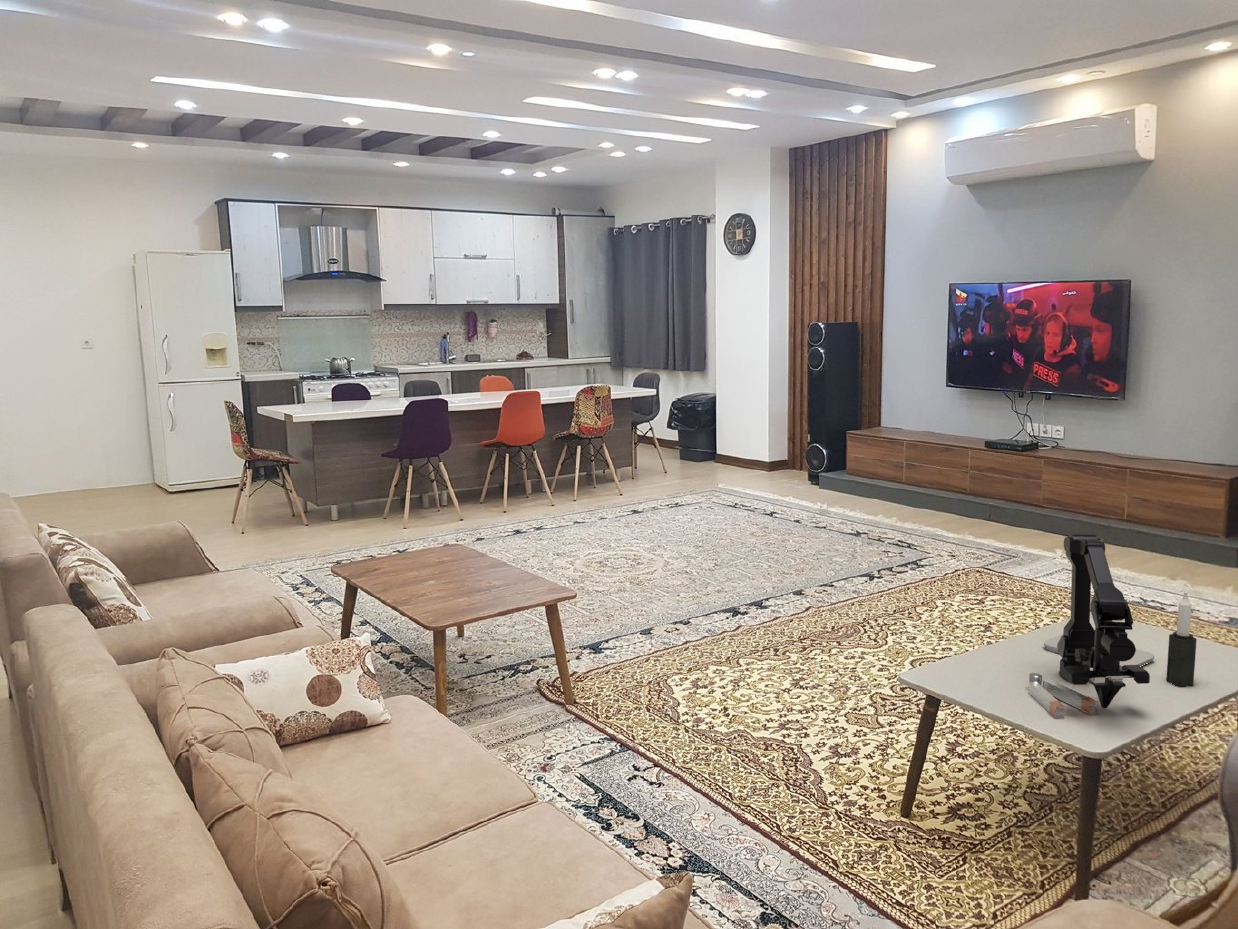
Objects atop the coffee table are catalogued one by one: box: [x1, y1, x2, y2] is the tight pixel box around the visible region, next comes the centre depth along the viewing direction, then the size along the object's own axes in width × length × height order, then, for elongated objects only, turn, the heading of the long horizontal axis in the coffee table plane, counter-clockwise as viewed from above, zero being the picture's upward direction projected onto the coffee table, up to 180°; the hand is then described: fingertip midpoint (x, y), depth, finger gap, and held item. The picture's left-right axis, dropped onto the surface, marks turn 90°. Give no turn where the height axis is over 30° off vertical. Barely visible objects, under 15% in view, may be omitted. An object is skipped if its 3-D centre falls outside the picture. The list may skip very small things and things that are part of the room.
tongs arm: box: [1042, 678, 1099, 716], centre depth 239 cm, size 16×2×3 cm, turn 19°
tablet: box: [1043, 633, 1155, 670], centre depth 272 cm, size 16×26×2 cm, turn 35°
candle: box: [1166, 591, 1198, 688], centre depth 248 cm, size 5×5×25 cm
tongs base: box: [1028, 672, 1065, 719], centre depth 239 cm, size 20×4×4 cm, turn 179°
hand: (1104, 707), depth 232 cm, fingers closed
